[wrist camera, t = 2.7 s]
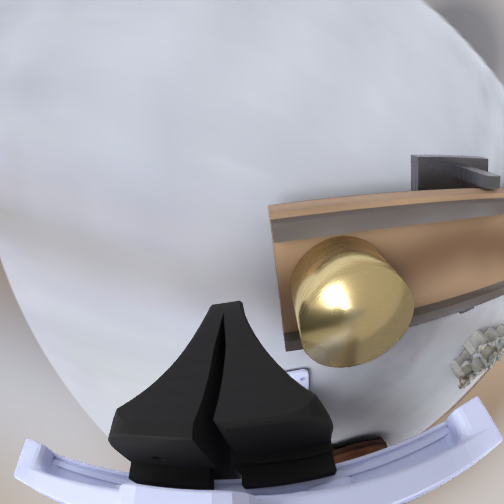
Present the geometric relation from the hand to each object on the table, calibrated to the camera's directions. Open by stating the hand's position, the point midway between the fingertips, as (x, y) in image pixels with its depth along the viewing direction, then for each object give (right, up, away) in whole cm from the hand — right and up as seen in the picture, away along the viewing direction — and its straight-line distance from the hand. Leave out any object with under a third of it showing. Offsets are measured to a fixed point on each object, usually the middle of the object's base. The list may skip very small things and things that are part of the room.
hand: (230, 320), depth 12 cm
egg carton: (+31, -9, +13) cm, 35 cm away
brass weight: (+5, +2, +1) cm, 6 cm away
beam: (+16, +4, +2) cm, 17 cm away
